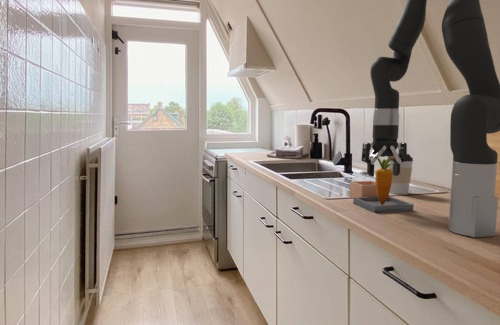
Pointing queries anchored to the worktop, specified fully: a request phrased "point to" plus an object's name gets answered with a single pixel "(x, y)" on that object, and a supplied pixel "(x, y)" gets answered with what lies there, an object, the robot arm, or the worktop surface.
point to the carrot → (383, 180)
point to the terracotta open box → (362, 189)
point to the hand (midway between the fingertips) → (383, 175)
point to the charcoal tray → (388, 206)
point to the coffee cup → (401, 176)
